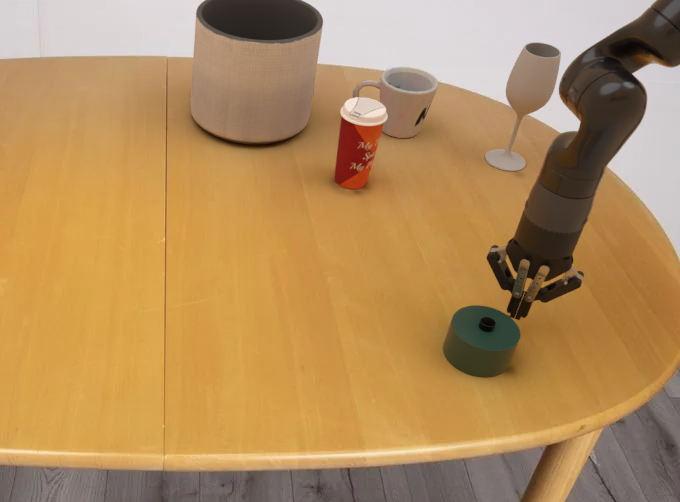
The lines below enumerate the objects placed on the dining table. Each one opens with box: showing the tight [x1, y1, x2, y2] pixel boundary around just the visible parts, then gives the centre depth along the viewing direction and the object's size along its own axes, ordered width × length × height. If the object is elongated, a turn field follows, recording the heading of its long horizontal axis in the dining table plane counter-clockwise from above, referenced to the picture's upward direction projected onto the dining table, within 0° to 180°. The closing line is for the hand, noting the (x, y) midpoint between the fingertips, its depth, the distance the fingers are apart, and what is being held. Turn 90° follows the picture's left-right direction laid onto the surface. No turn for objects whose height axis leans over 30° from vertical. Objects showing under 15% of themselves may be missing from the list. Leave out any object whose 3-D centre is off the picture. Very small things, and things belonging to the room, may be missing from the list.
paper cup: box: [334, 96, 387, 190], centre depth 147 cm, size 8×8×14 cm
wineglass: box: [484, 41, 562, 173], centre depth 151 cm, size 8×8×21 cm
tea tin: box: [442, 304, 521, 378], centre depth 118 cm, size 9×9×6 cm
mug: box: [352, 66, 440, 139], centre depth 162 cm, size 10×15×10 cm
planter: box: [189, 0, 324, 145], centre depth 159 cm, size 23×23×20 cm
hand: (515, 315), depth 123 cm, fingers closed
